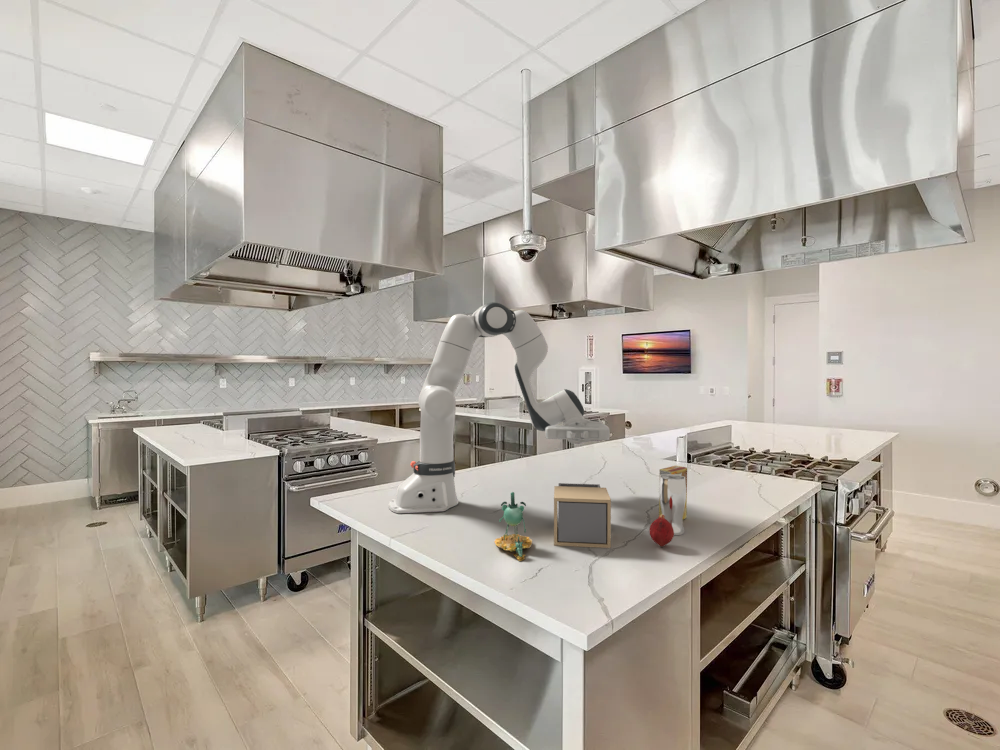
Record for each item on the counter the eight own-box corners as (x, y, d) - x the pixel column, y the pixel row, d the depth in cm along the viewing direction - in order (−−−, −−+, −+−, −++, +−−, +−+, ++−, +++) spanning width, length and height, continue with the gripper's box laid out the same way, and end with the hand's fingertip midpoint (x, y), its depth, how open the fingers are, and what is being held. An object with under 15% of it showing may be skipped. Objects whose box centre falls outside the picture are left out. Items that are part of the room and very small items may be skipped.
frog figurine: (489, 562, 109) (489, 496, 110) (497, 542, 126) (497, 486, 128) (531, 562, 108) (530, 497, 109) (533, 542, 126) (532, 486, 127)
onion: (670, 552, 113) (670, 519, 113) (646, 548, 117) (646, 515, 116) (675, 545, 118) (676, 513, 118) (652, 540, 121) (652, 509, 121)
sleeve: (554, 529, 130) (554, 486, 130) (605, 531, 128) (606, 487, 128) (553, 545, 118) (554, 497, 118) (610, 548, 117) (610, 499, 116)
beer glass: (689, 531, 129) (690, 476, 128) (679, 537, 123) (680, 481, 123) (665, 525, 133) (665, 472, 133) (654, 531, 128) (654, 476, 128)
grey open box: (558, 516, 138) (558, 483, 138) (599, 518, 136) (599, 484, 136) (558, 541, 118) (558, 502, 118) (606, 543, 117) (606, 504, 117)
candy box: (674, 515, 143) (674, 464, 143) (687, 518, 139) (687, 467, 139) (658, 521, 137) (658, 468, 137) (671, 524, 134) (671, 471, 134)
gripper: (545, 420, 158) (543, 425, 144) (607, 421, 155) (611, 426, 142) (545, 439, 158) (543, 445, 144) (607, 440, 155) (611, 447, 142)
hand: (578, 436), depth 143 cm, fingers closed
